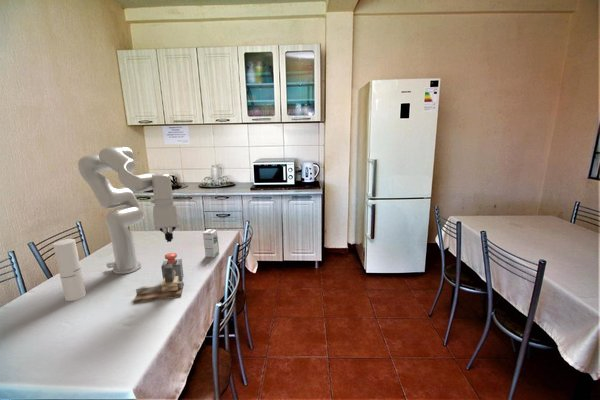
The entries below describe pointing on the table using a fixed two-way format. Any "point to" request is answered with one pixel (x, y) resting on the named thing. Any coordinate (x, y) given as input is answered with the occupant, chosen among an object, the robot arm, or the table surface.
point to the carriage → (169, 279)
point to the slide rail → (156, 293)
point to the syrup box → (211, 243)
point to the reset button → (171, 258)
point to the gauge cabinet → (175, 269)
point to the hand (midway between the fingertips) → (169, 240)
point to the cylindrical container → (69, 269)
